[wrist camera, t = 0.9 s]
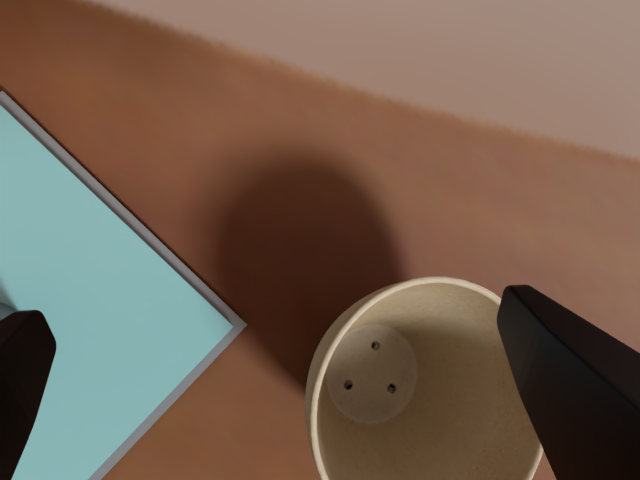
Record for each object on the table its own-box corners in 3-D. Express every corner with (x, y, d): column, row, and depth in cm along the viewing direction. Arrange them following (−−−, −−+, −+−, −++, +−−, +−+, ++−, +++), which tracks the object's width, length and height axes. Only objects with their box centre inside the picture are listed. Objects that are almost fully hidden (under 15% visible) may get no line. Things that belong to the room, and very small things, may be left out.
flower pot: (235, 351, 22) (255, 383, 15) (392, 242, 25) (468, 227, 18) (343, 515, 23) (409, 617, 16) (484, 391, 26) (592, 433, 19)
